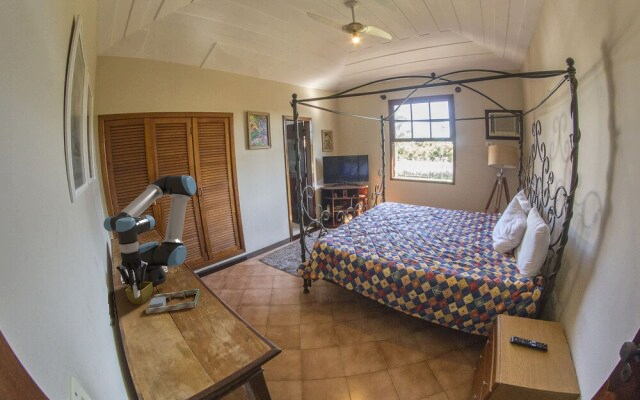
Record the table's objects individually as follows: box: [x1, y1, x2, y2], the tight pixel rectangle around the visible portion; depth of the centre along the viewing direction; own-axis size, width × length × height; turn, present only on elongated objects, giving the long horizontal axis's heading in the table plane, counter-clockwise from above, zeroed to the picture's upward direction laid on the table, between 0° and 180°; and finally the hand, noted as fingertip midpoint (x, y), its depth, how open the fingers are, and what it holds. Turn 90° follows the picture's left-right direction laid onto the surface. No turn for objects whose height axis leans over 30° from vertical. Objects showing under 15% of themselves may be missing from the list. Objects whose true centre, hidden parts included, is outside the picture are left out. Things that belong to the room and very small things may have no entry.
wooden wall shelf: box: [145, 288, 201, 315], centre depth 145 cm, size 22×13×3 cm, turn 103°
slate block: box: [148, 296, 167, 308], centre depth 142 cm, size 6×6×4 cm
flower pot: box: [124, 282, 153, 305], centre depth 146 cm, size 9×9×9 cm
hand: (137, 296), depth 138 cm, fingers closed
